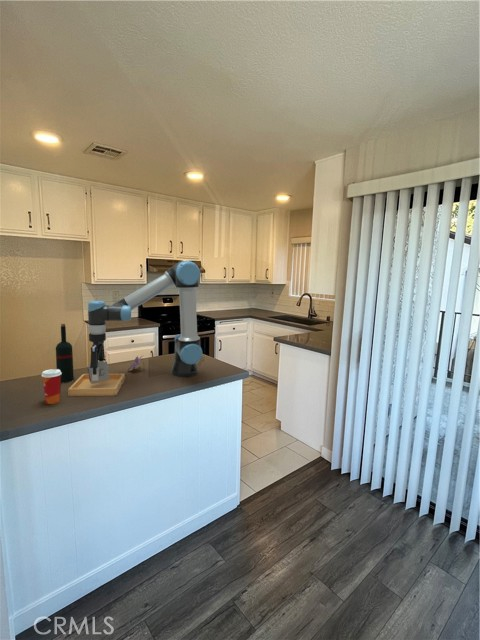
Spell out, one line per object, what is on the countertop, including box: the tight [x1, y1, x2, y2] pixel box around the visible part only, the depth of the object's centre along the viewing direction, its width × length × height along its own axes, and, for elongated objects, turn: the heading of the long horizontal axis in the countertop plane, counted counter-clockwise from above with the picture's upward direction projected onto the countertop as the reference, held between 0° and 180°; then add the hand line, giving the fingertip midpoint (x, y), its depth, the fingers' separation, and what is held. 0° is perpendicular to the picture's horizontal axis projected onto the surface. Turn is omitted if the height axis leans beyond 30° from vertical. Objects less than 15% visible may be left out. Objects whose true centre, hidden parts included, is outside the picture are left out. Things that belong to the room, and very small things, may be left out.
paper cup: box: [40, 368, 62, 405], centre depth 141 cm, size 8×8×14 cm
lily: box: [126, 355, 143, 372], centre depth 186 cm, size 12×12×10 cm
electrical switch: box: [87, 361, 110, 384], centre depth 158 cm, size 9×5×9 cm, turn 141°
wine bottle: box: [55, 323, 75, 384], centre depth 166 cm, size 8×10×30 cm
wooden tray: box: [67, 373, 126, 397], centre depth 159 cm, size 21×21×4 cm
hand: (98, 376), depth 159 cm, fingers closed on electrical switch, 9 cm apart
